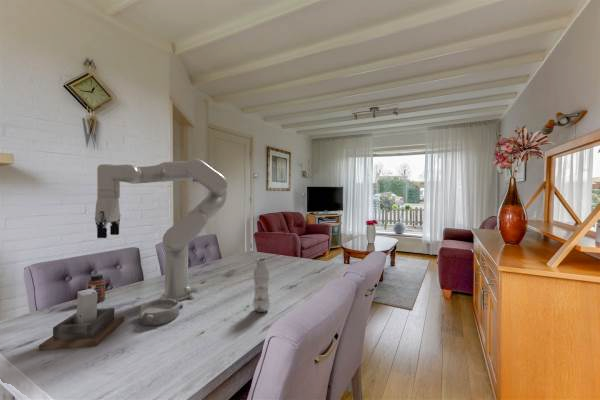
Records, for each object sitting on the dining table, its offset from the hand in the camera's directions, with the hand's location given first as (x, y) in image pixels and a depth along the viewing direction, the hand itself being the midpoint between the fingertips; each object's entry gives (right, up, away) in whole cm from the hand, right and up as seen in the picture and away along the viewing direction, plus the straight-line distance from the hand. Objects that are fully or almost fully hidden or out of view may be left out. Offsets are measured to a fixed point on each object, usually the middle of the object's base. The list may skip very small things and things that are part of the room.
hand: (108, 236), depth 110 cm
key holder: (+10, -28, -24) cm, 38 cm away
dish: (+27, -29, -11) cm, 41 cm away
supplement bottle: (-8, -29, +4) cm, 30 cm away
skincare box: (+10, -27, -23) cm, 37 cm away
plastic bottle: (+64, -29, -5) cm, 70 cm away
